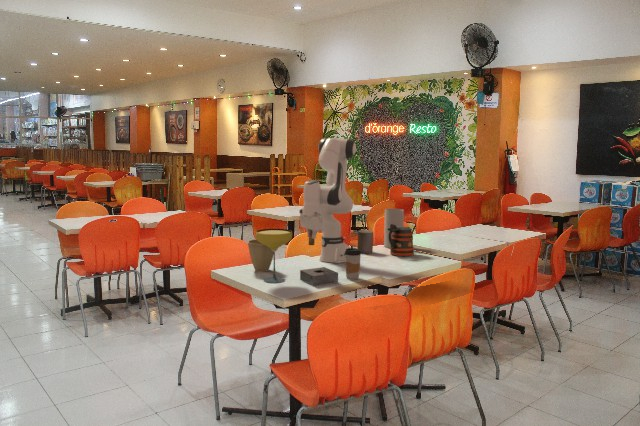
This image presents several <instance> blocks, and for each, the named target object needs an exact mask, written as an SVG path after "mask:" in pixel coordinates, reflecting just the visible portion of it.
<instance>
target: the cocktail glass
mask: <svg viewBox="0 0 640 426" xmlns="http://www.w3.org/2000/svg"><path fill="white" fill-rule="evenodd" d="M292 238H293V231H292V230H291V229H288V228H287V229H285V228H264V229H259V230H257V231H256V232H255V239H257V240H258V241H259V242H260V243H262V244H264V245H266V246H268V247H269V248H270V249H271V250H272V251H273V252H274V254H273V275H272V277H266V278H264V279H263V282H264V283H267V284H279V283H284V282H285V281H286V278H284V277H280V276H279V277H278V276H276V257H275V256H276V251H278V249H279V248H280V247H283V246H284V245H286V244H288V243H289V242H290V241H291V240H292Z"/></svg>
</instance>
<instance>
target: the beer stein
mask: <svg viewBox="0 0 640 426" xmlns="http://www.w3.org/2000/svg"><path fill="white" fill-rule="evenodd" d="M388 230H389V231H390V232H389V242H390V244H391V247H390V248H389V249H390V251H389V252H390V253H389V254H390V255H392V256H397V257H412V256H414V255H415V249H414V242H413V241H414V235H413V230H412V228H410V226H403V227H396V225H393V224H391V225H390V228H388ZM392 232H393V233H392ZM391 234H392V238H391Z"/></svg>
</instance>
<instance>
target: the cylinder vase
mask: <svg viewBox="0 0 640 426" xmlns="http://www.w3.org/2000/svg"><path fill="white" fill-rule="evenodd" d="M404 217H405V210H404V209H403V208H402V209H401V208H385V209H384V233H383V235H384V238H383V239H384V240H383V246H384V248H387V249H390V247H391V244H390V242H389V232H390V231H389V230H388V228H390V225H391V224H393V225H396V227H405V226H404V225H405V224H404V222H405V220H404ZM392 233H393V232H392ZM391 238H392V234H391Z"/></svg>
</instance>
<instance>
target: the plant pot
mask: <svg viewBox="0 0 640 426" xmlns="http://www.w3.org/2000/svg"><path fill="white" fill-rule="evenodd" d="M247 246H248V251H249V252H248V253H249V256H250V260H251V262H252V265H253V269H254V271H255V272H258V273H259V272H260V273H261V272H263V273H264V272H268V271H269V270H270V267H271V264H272V261H273V259H274V252H273V251H272V250H271V249H270V248H269V247H268V246H266V245H264V244H262V243H260V242H259V241H258V240H257V239H256V238H254V239H251V240H247Z"/></svg>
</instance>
